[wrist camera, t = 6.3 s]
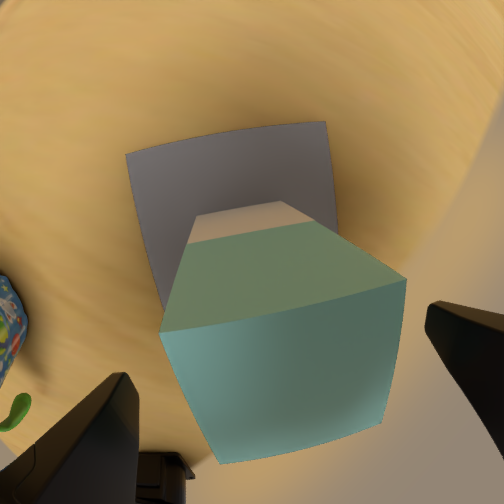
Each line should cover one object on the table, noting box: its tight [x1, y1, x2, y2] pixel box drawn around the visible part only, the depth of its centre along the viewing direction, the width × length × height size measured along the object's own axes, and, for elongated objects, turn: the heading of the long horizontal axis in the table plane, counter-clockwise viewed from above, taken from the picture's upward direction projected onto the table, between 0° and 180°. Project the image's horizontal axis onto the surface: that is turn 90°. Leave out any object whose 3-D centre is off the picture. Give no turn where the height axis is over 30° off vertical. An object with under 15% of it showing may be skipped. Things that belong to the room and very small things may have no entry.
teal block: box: [159, 221, 407, 464], centre depth 9 cm, size 5×5×6 cm
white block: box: [187, 201, 315, 244], centre depth 14 cm, size 5×5×6 cm
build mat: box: [125, 121, 338, 312], centre depth 17 cm, size 14×12×1 cm
